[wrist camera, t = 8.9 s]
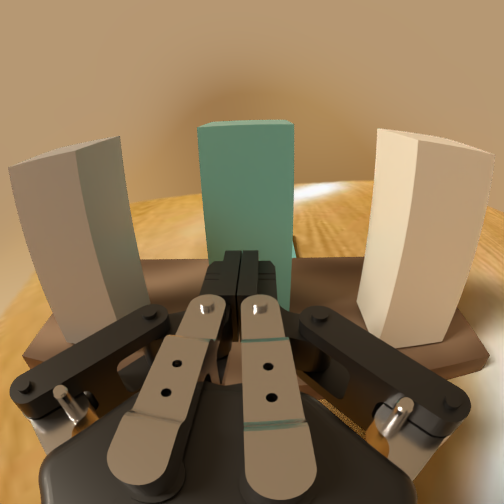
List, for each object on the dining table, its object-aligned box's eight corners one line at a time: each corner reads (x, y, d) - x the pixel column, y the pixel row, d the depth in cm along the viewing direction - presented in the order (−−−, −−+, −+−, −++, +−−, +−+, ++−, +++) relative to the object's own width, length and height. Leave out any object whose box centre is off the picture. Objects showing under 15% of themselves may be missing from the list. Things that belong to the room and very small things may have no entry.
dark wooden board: (480, 370, 15) (489, 355, 14) (31, 370, 16) (22, 355, 15) (412, 268, 27) (416, 255, 27) (100, 272, 29) (96, 259, 28)
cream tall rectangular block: (442, 341, 16) (495, 154, 11) (375, 350, 16) (418, 140, 11) (415, 297, 21) (446, 138, 15) (356, 301, 21) (377, 128, 15)
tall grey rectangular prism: (128, 350, 17) (75, 150, 11) (66, 342, 17) (8, 167, 11) (150, 302, 21) (119, 135, 16) (94, 300, 21) (57, 148, 16)
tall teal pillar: (289, 313, 20) (294, 124, 14) (214, 313, 20) (197, 127, 15) (284, 274, 24) (286, 120, 19) (222, 274, 25) (211, 122, 19)
